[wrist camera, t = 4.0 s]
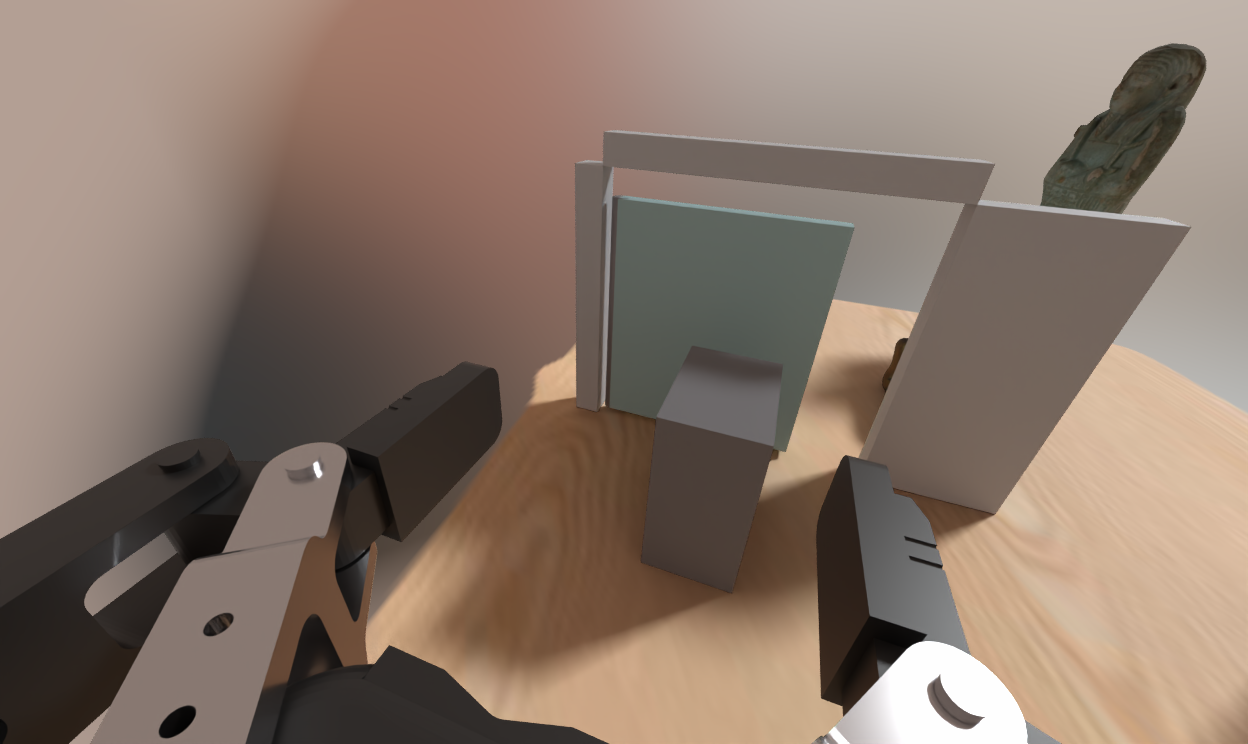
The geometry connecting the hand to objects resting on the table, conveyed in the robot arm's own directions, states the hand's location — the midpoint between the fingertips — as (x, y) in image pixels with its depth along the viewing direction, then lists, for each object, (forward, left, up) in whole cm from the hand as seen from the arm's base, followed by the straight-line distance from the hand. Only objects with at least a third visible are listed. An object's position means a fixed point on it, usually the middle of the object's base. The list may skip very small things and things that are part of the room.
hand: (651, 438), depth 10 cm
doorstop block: (-1, -13, -17) cm, 22 cm away
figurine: (-28, -51, -18) cm, 61 cm away
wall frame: (-4, -23, -17) cm, 29 cm away
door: (+2, -24, -17) cm, 29 cm away
